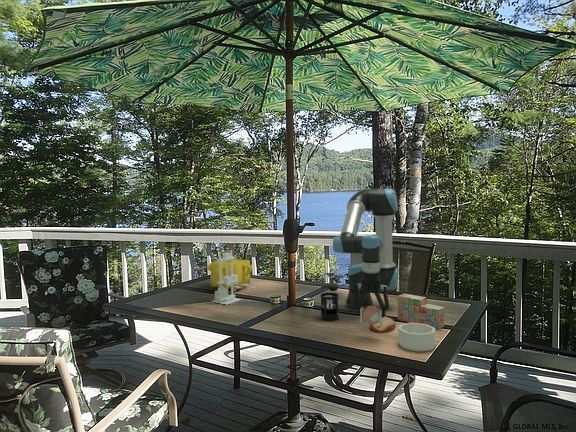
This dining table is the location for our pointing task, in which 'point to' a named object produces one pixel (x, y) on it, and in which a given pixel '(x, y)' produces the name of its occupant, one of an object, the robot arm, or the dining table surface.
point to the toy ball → (371, 315)
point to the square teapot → (239, 268)
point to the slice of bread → (384, 326)
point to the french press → (329, 314)
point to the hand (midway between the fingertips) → (371, 323)
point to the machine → (227, 282)
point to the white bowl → (416, 337)
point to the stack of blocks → (420, 311)
